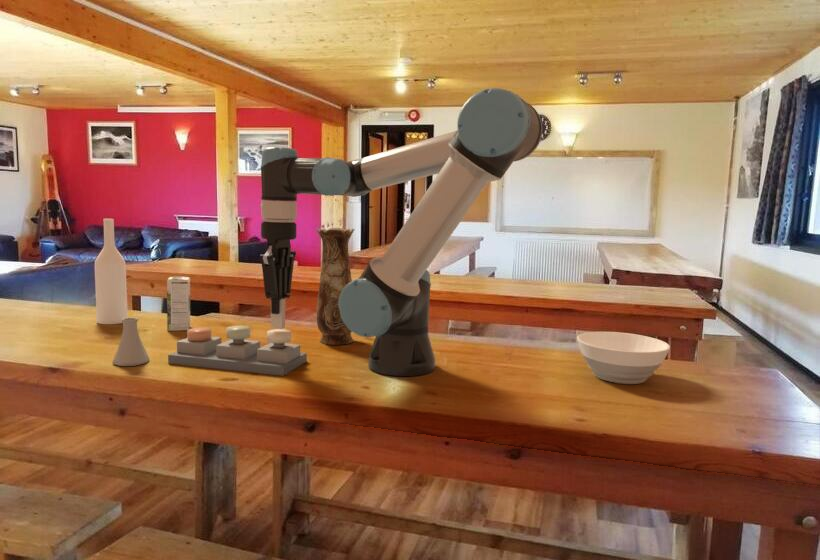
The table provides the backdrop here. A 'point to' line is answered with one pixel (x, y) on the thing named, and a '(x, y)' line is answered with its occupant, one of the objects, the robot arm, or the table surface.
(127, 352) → the flask
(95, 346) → the table surface
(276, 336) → the button cream
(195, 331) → the button terracotta
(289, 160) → the robot arm
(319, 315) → the vase
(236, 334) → the button sage
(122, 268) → the bottle
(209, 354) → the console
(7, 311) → the table surface
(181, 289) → the syrup box
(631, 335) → the bowl
